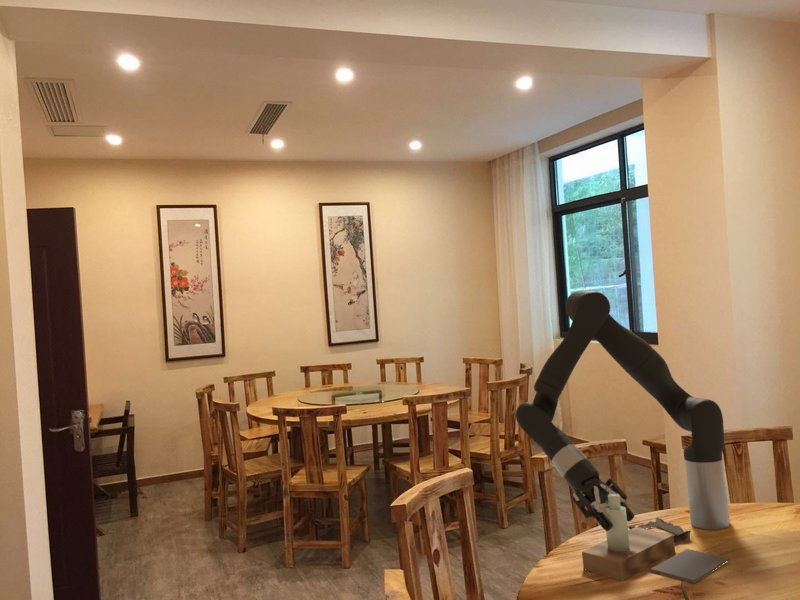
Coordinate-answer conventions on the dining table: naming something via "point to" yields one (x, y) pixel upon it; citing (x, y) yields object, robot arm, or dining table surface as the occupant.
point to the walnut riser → (629, 554)
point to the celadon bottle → (617, 525)
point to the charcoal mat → (689, 565)
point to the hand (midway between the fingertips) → (621, 524)
